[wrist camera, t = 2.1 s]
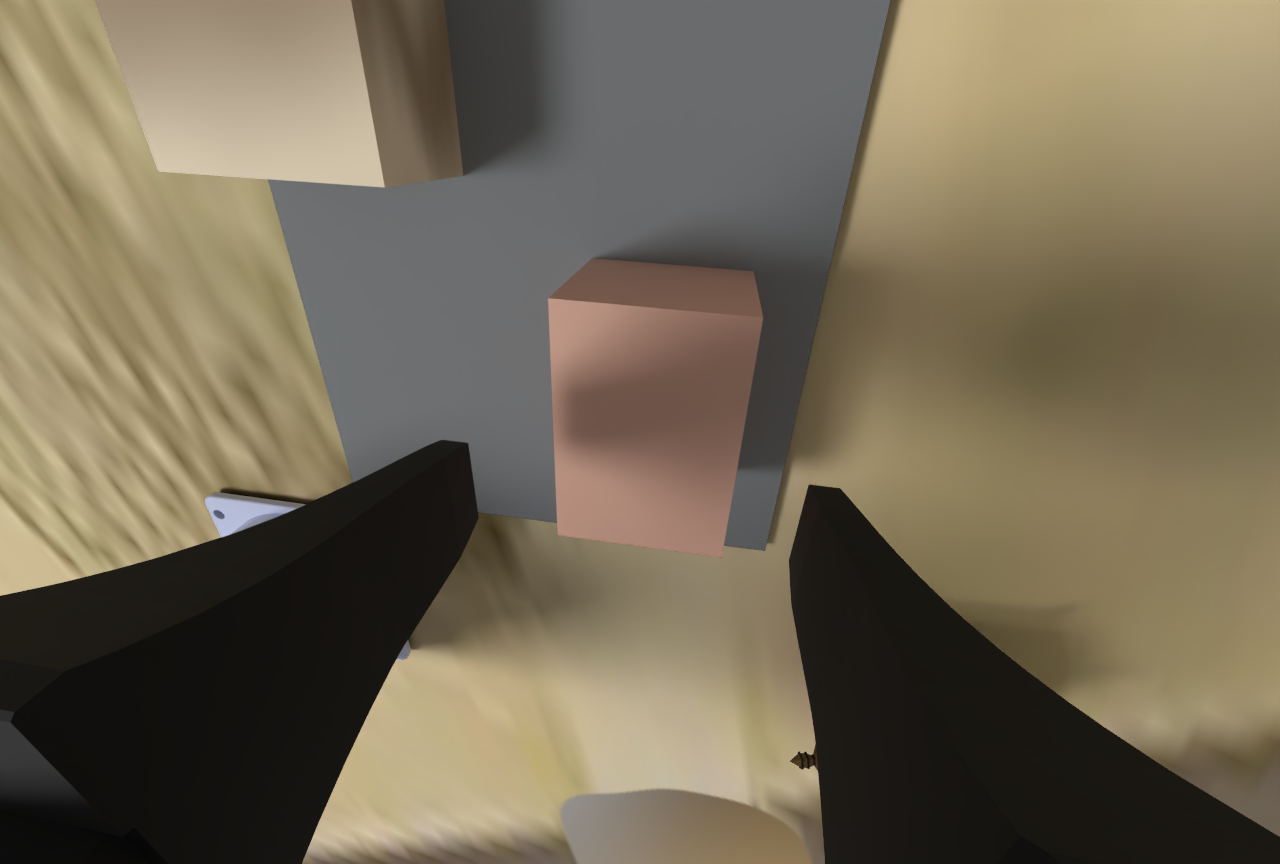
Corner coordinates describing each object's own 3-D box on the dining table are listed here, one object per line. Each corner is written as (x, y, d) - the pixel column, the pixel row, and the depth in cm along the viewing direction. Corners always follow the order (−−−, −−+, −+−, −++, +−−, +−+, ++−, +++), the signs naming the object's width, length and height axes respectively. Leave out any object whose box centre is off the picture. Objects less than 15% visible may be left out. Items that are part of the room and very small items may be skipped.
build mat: (764, 543, 20) (765, 551, 20) (362, 490, 22) (356, 495, 22) (969, -368, 9) (978, -385, 9) (137, -337, 11) (118, -351, 11)
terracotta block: (722, 470, 19) (721, 557, 15) (591, 454, 19) (557, 535, 15) (753, 271, 15) (763, 317, 11) (592, 258, 16) (548, 298, 12)
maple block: (463, 175, 15) (385, 187, 11) (284, 163, 15) (158, 171, 12) (424, -177, 11) (294, -313, 8) (195, -177, 12) (-20, -304, 9)
